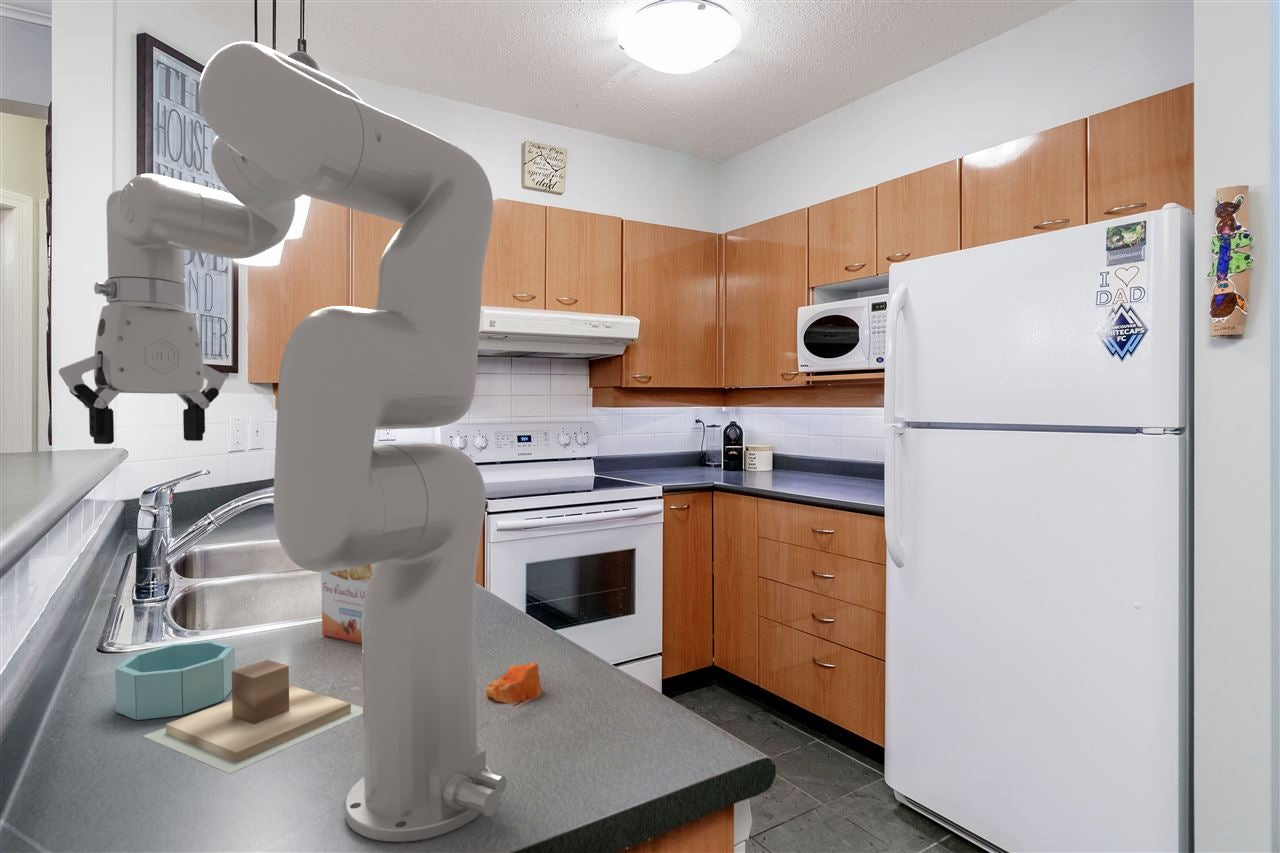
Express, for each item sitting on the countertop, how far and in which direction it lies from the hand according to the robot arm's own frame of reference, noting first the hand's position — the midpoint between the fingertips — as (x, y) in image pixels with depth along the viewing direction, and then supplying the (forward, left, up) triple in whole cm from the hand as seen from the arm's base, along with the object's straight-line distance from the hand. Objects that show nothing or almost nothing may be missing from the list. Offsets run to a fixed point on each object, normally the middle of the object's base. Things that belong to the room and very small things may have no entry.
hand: (150, 442), depth 83 cm
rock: (-37, -22, -32) cm, 54 cm away
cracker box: (-3, -28, -31) cm, 42 cm away
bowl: (-3, -1, -31) cm, 31 cm away
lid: (-18, -2, -31) cm, 36 cm away
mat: (-18, -2, -31) cm, 36 cm away
